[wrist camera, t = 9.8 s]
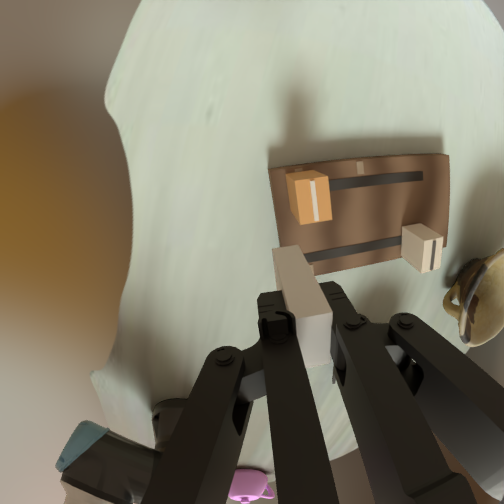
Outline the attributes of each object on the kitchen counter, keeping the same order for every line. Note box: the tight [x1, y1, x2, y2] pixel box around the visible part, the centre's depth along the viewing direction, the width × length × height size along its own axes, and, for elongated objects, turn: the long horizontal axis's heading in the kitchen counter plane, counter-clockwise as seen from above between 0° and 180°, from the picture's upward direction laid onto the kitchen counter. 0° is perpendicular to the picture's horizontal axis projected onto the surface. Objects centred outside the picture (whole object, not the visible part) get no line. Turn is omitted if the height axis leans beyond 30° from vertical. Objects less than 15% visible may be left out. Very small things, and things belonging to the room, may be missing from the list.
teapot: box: [228, 469, 275, 504], centre depth 56 cm, size 14×20×11 cm
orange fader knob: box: [285, 170, 332, 225], centre depth 25 cm, size 3×4×5 cm
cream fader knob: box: [401, 223, 443, 273], centre depth 28 cm, size 3×4×5 cm
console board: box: [268, 154, 450, 276], centre depth 30 cm, size 24×13×2 cm, turn 100°
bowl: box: [443, 248, 504, 347], centre depth 32 cm, size 18×18×10 cm
